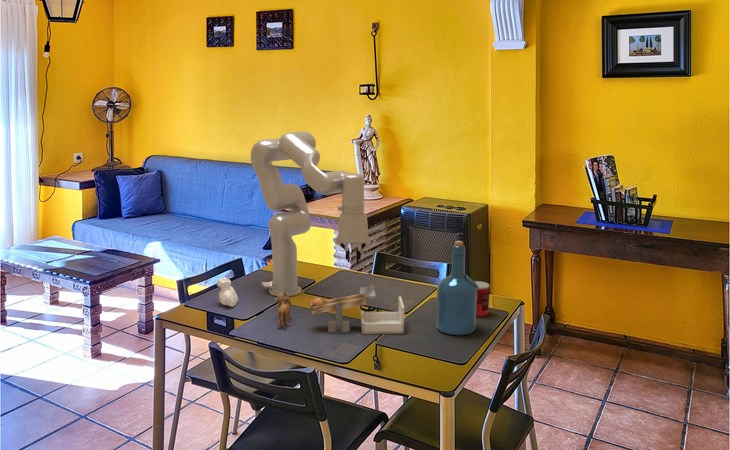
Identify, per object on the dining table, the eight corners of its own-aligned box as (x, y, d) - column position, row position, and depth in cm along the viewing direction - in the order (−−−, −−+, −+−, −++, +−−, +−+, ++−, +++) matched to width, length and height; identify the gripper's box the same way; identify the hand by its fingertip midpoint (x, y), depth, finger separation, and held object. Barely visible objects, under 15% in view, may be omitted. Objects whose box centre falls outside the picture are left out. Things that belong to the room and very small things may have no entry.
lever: (311, 314, 195) (310, 305, 194) (313, 298, 211) (312, 290, 210) (376, 302, 195) (375, 294, 194) (374, 287, 211) (372, 279, 210)
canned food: (463, 310, 216) (464, 281, 214) (484, 309, 217) (486, 280, 215) (468, 318, 209) (469, 287, 206) (490, 317, 209) (492, 287, 207)
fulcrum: (328, 333, 194) (327, 306, 192) (328, 323, 203) (328, 296, 201) (349, 333, 195) (349, 305, 193) (349, 322, 204) (349, 296, 202)
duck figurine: (229, 304, 228) (209, 282, 225) (244, 291, 228) (225, 270, 225) (227, 315, 216) (206, 292, 213) (243, 302, 216) (223, 279, 213)
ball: (314, 310, 196) (311, 301, 195) (314, 306, 199) (312, 297, 198) (323, 307, 196) (321, 298, 195) (324, 304, 199) (321, 295, 198)
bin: (362, 334, 194) (362, 307, 192) (360, 321, 205) (360, 296, 203) (403, 333, 195) (404, 307, 193) (400, 321, 205) (400, 296, 203)
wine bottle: (439, 337, 192) (442, 246, 186) (432, 322, 205) (435, 236, 199) (481, 336, 193) (485, 246, 186) (472, 321, 206) (475, 236, 199)
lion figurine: (275, 315, 210) (274, 291, 209) (290, 314, 212) (289, 290, 210) (277, 331, 196) (277, 305, 194) (294, 329, 197) (293, 304, 196)
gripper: (329, 212, 201) (329, 264, 205) (377, 211, 202) (376, 264, 206) (329, 207, 208) (330, 258, 212) (375, 207, 209) (375, 258, 213)
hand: (353, 261), depth 209 cm, fingers open, 2 cm apart
